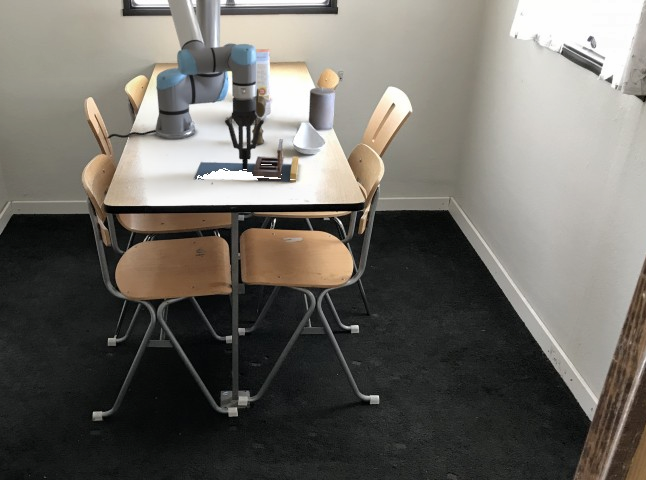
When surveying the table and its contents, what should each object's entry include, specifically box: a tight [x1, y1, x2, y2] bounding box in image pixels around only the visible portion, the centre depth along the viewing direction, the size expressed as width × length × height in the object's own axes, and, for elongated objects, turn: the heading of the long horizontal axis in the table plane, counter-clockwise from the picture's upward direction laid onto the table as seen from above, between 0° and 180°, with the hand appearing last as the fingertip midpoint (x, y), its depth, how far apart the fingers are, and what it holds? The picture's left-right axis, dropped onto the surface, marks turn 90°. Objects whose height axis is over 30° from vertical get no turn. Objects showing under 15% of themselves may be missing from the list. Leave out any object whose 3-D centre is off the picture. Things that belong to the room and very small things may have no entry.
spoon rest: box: [292, 121, 327, 156], centre depth 258 cm, size 24×12×7 cm, turn 5°
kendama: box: [251, 89, 266, 146], centre depth 258 cm, size 6×10×20 cm, turn 175°
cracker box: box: [255, 48, 271, 100], centre depth 305 cm, size 14×6×21 cm, turn 84°
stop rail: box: [289, 156, 300, 183], centre depth 237 cm, size 2×16×3 cm, turn 174°
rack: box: [253, 138, 285, 181], centre depth 236 cm, size 9×14×10 cm, turn 173°
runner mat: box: [193, 161, 299, 183], centre depth 240 cm, size 34×16×1 cm, turn 84°
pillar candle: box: [308, 86, 336, 131], centre depth 275 cm, size 10×10×15 cm
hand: (245, 168), depth 239 cm, fingers closed
